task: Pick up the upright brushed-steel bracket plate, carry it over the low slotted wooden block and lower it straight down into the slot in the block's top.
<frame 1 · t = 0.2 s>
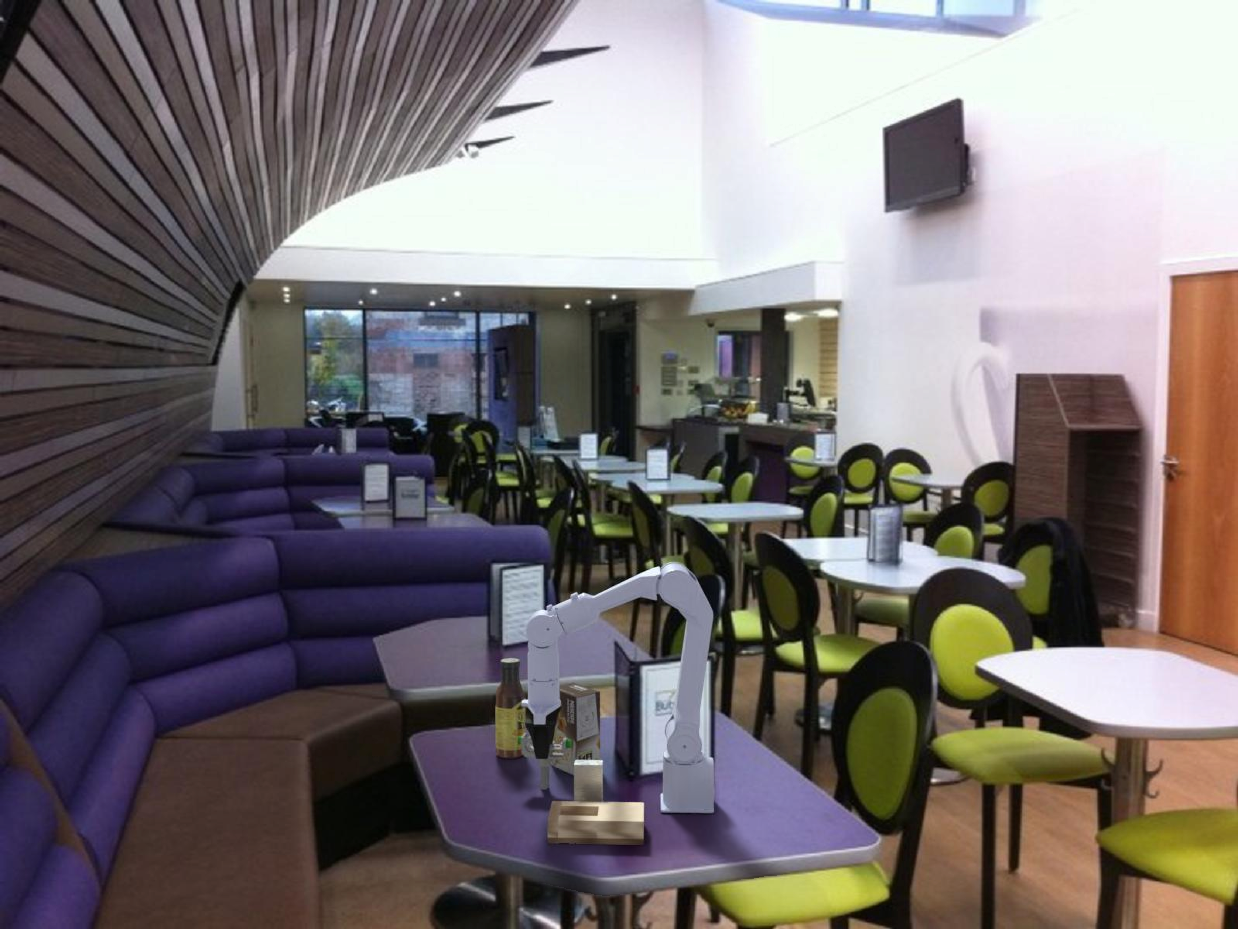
hand: (544, 751, 188), 10 cm above the table, tool pointing down, fingers open, 7 cm apart
coffee box: (575, 768, 207), on the table
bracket: (588, 811, 185), on the table
slotted wooden block: (596, 834, 176), on the table
mechanical component: (544, 789, 196), on the table
sauce bottle: (510, 755, 214), on the table
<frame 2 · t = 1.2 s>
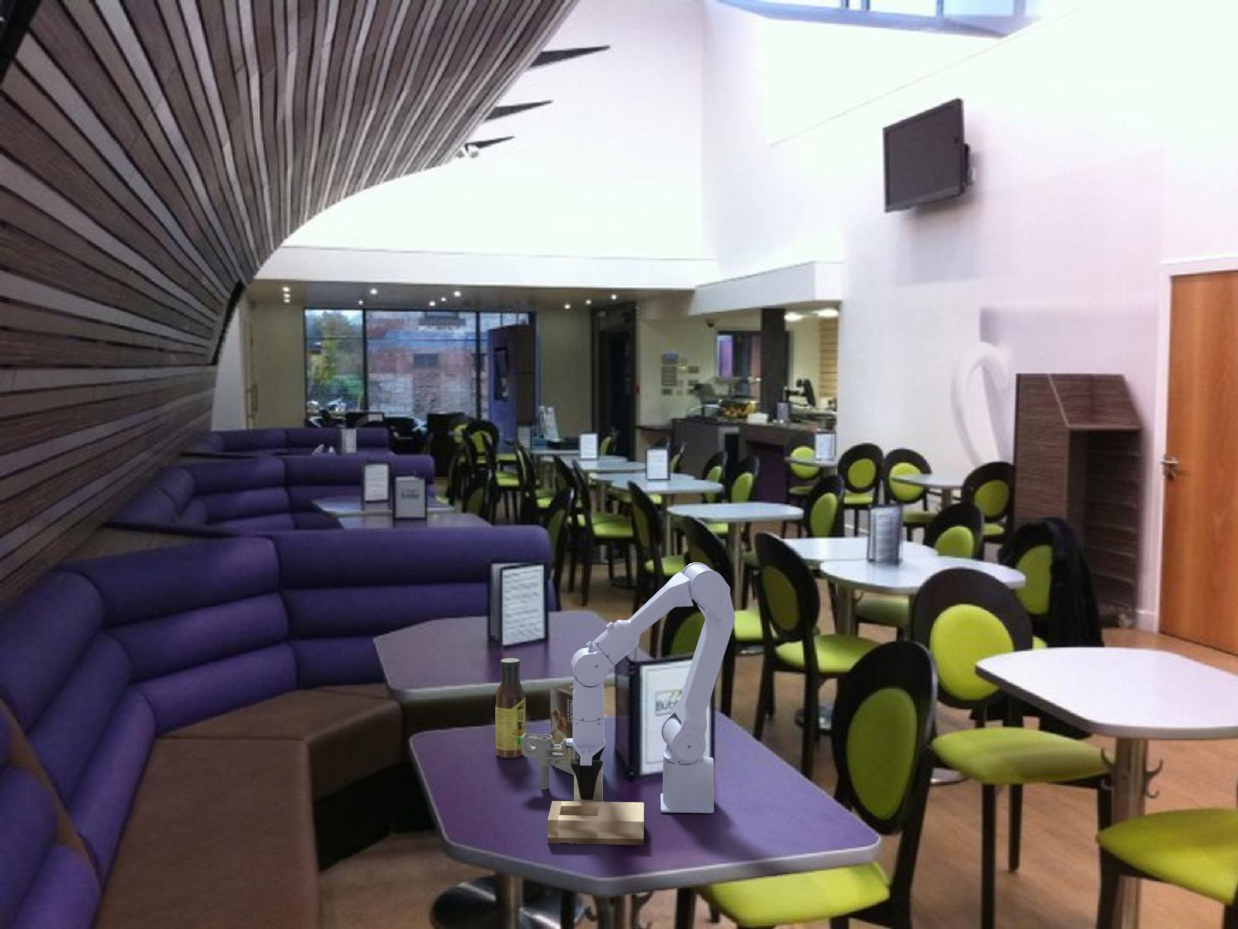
hand: (588, 790, 185), 4 cm above the table, tool pointing down, fingers open, 7 cm apart
nothing on the table moved.
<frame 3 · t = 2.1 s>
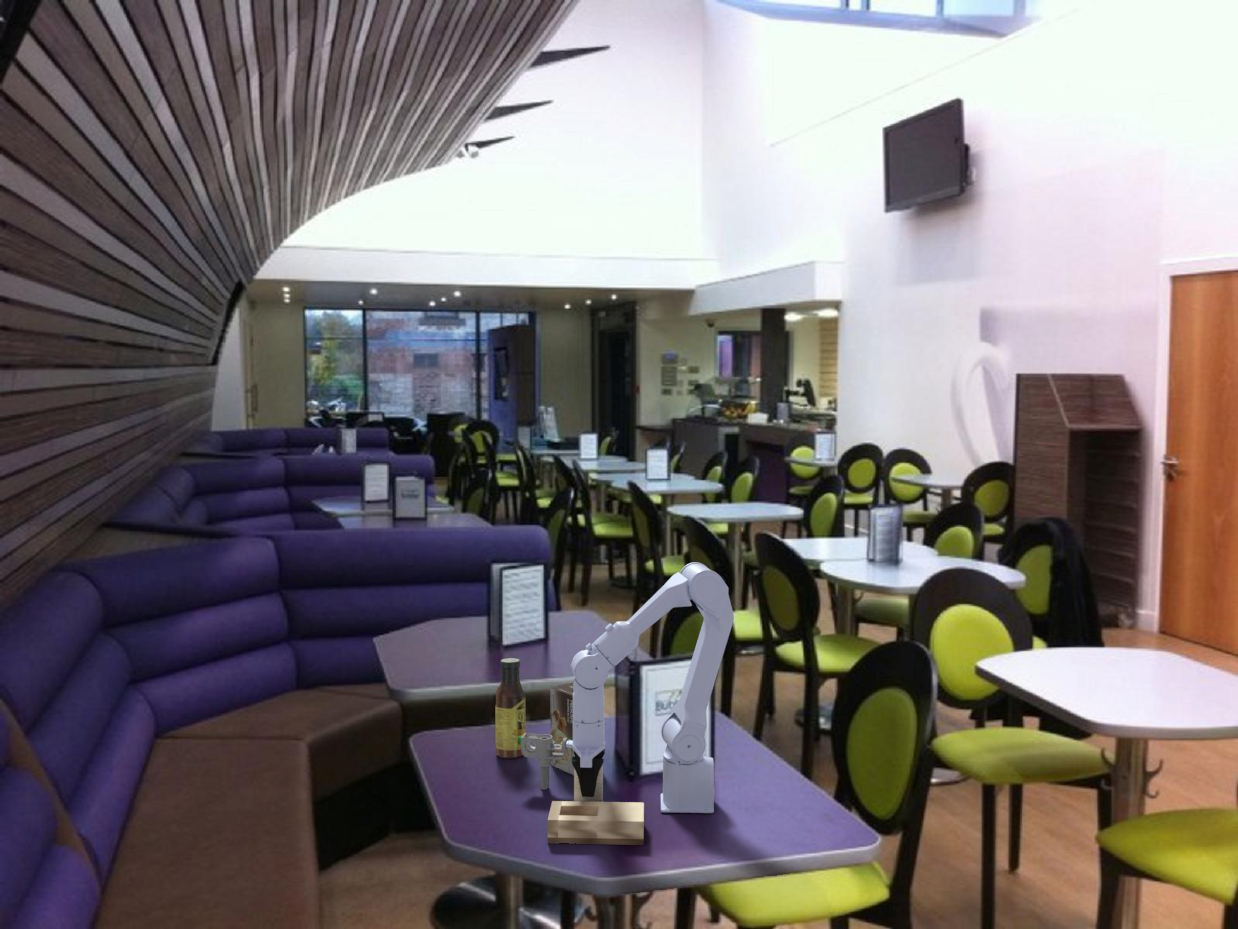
hand: (588, 792, 185), 3 cm above the table, tool pointing down, fingers closed on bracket, 2 cm apart
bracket: (588, 811, 185), on the table, touching gripper
everything else where it was.
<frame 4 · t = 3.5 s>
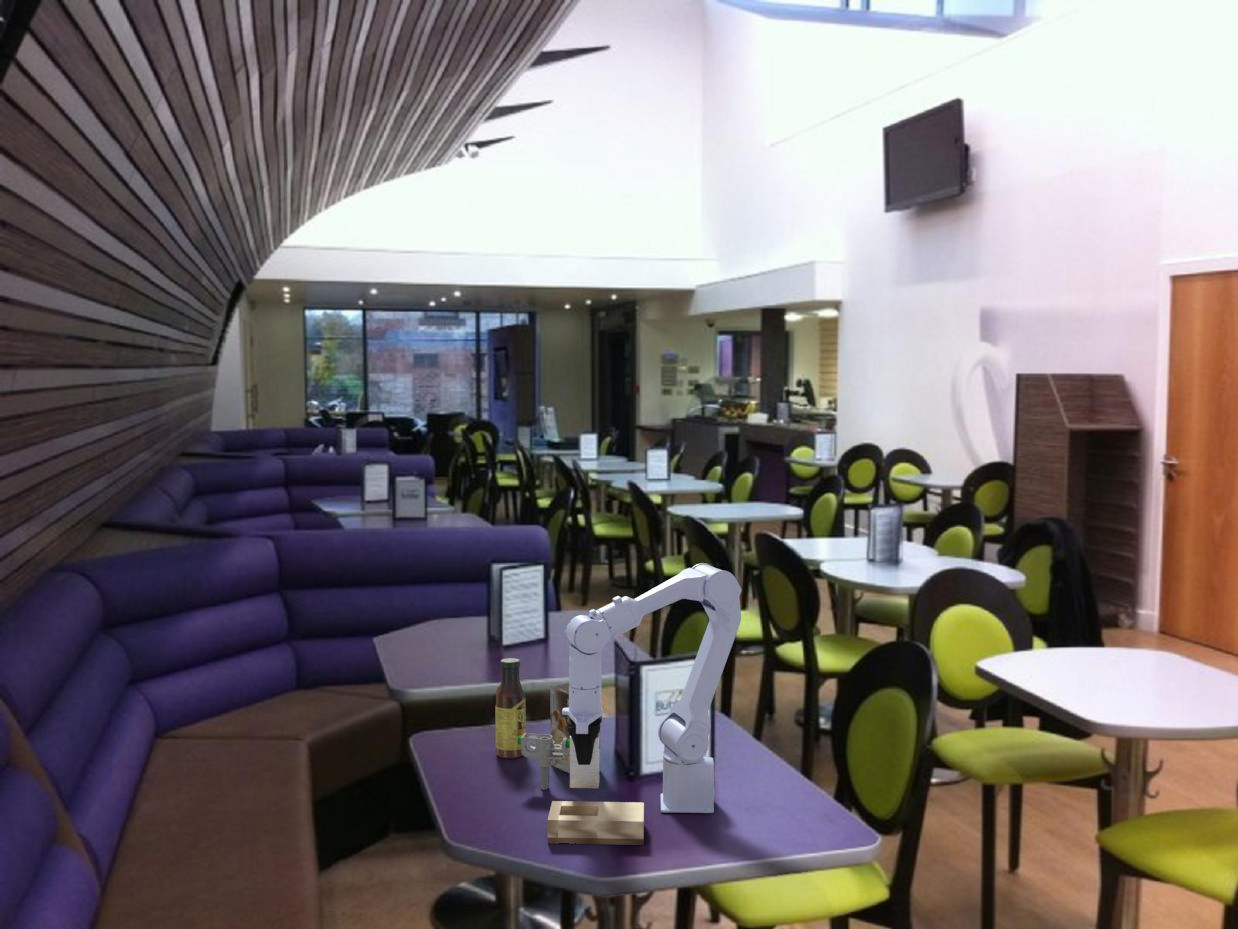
hand: (585, 761, 181), 10 cm above the table, tool pointing down, fingers closed on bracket, 2 cm apart
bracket: (584, 785, 182), point 6 cm above the table, touching gripper
everything else where it was.
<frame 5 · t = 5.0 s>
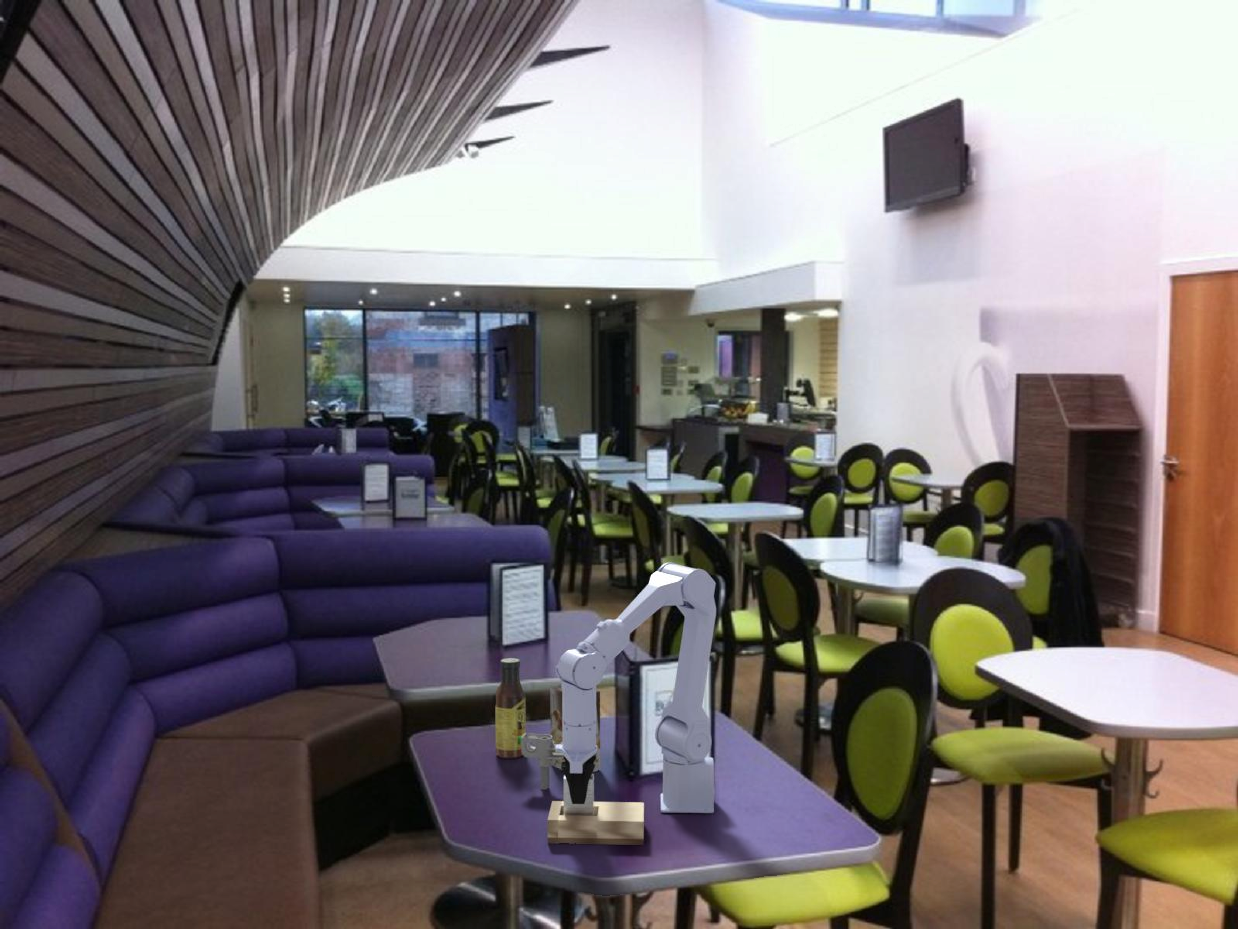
hand: (579, 799, 176), 6 cm above the table, tool pointing down, fingers closed on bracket, 2 cm apart
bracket: (578, 828, 176), point 1 cm above the table, touching gripper, slotted wooden block
everything else where it was.
when the fingers open (6 cm above the table, at t = 5.3 s): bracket stays where it is, resting on slotted wooden block.
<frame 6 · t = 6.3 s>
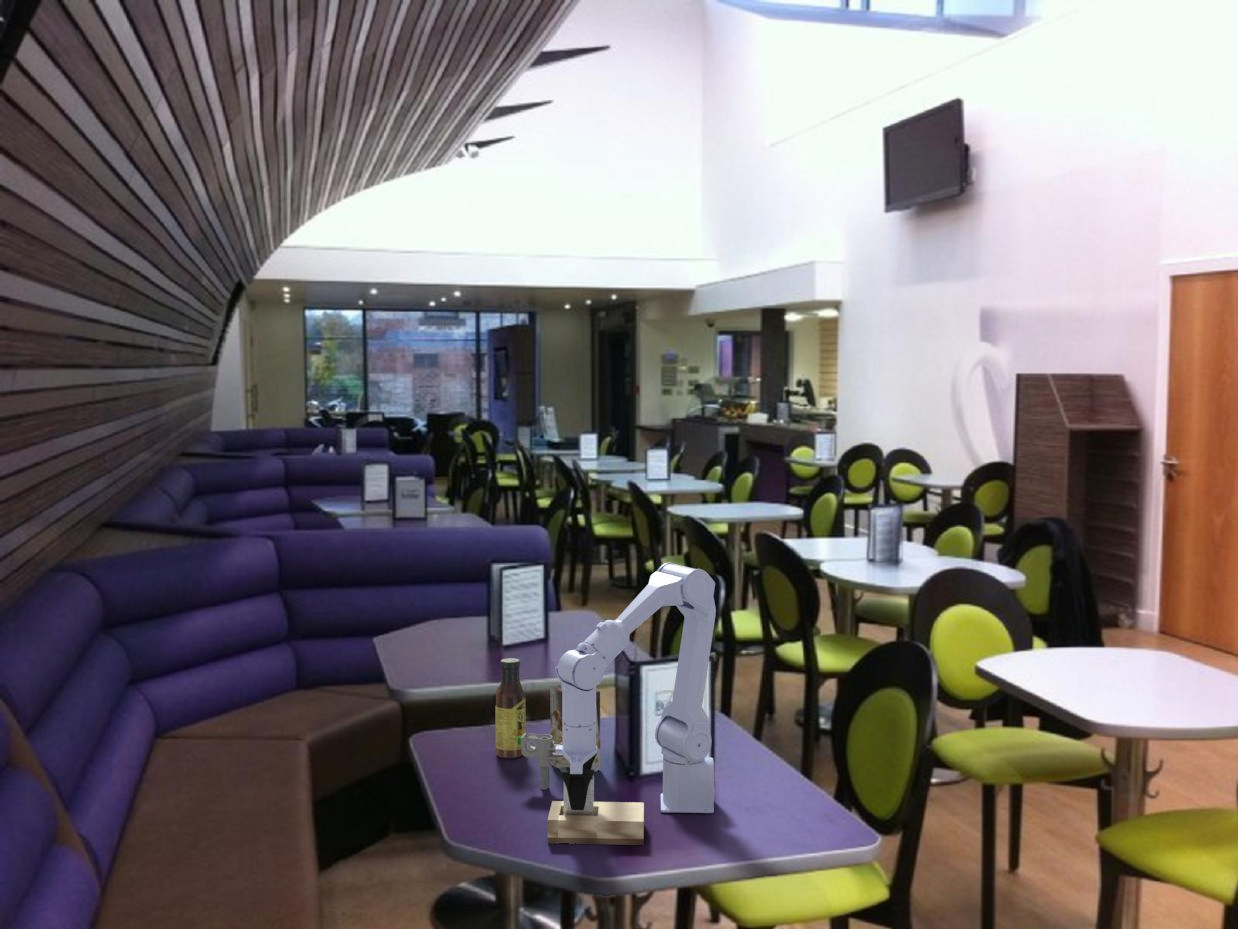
hand: (579, 800, 176), 6 cm above the table, tool pointing down, fingers open, 7 cm apart
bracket: (578, 828, 176), point 1 cm above the table, touching slotted wooden block
everything else where it was.
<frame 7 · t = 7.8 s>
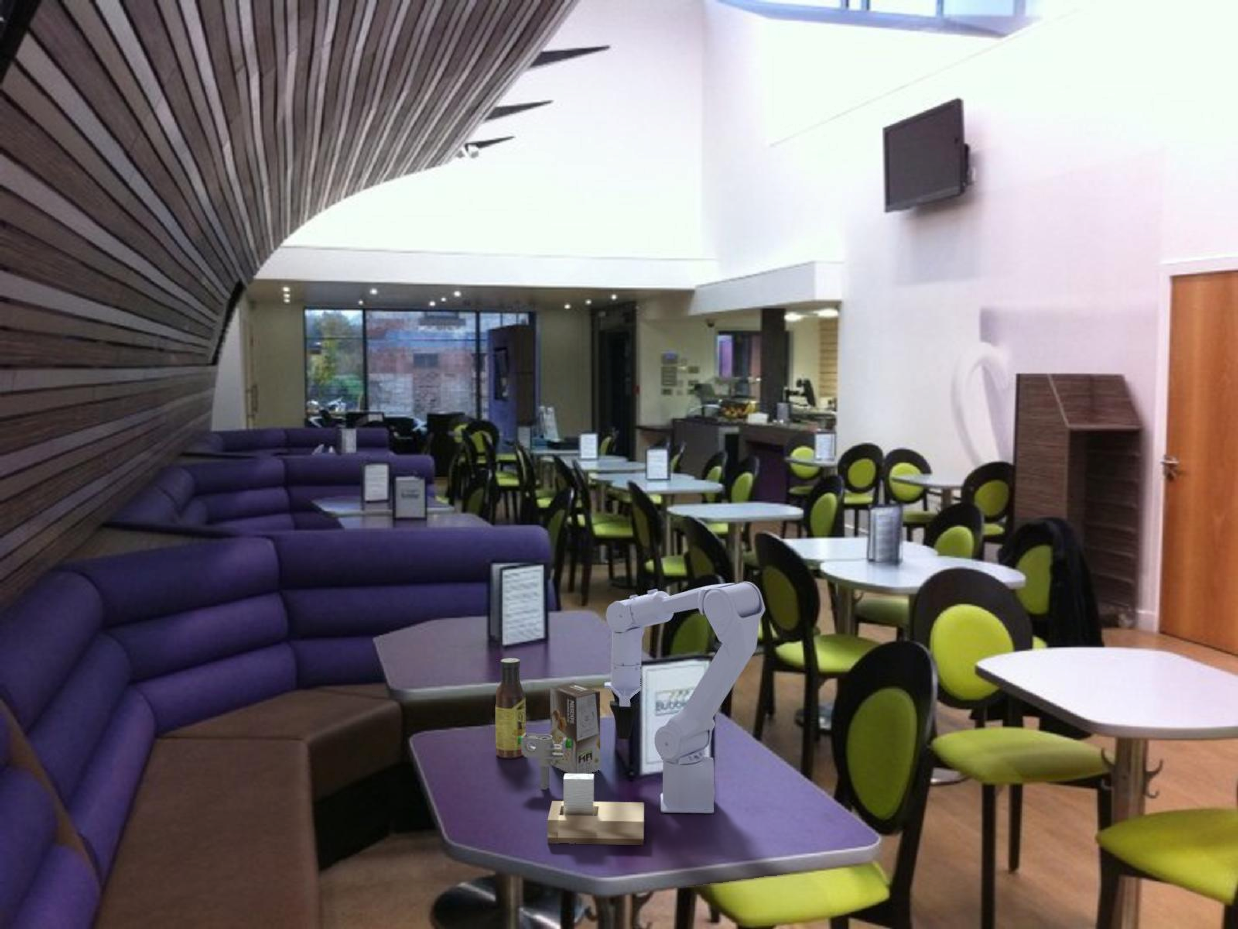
hand: (624, 731, 197), 10 cm above the table, tool pointing down, fingers open, 7 cm apart
nothing on the table moved.
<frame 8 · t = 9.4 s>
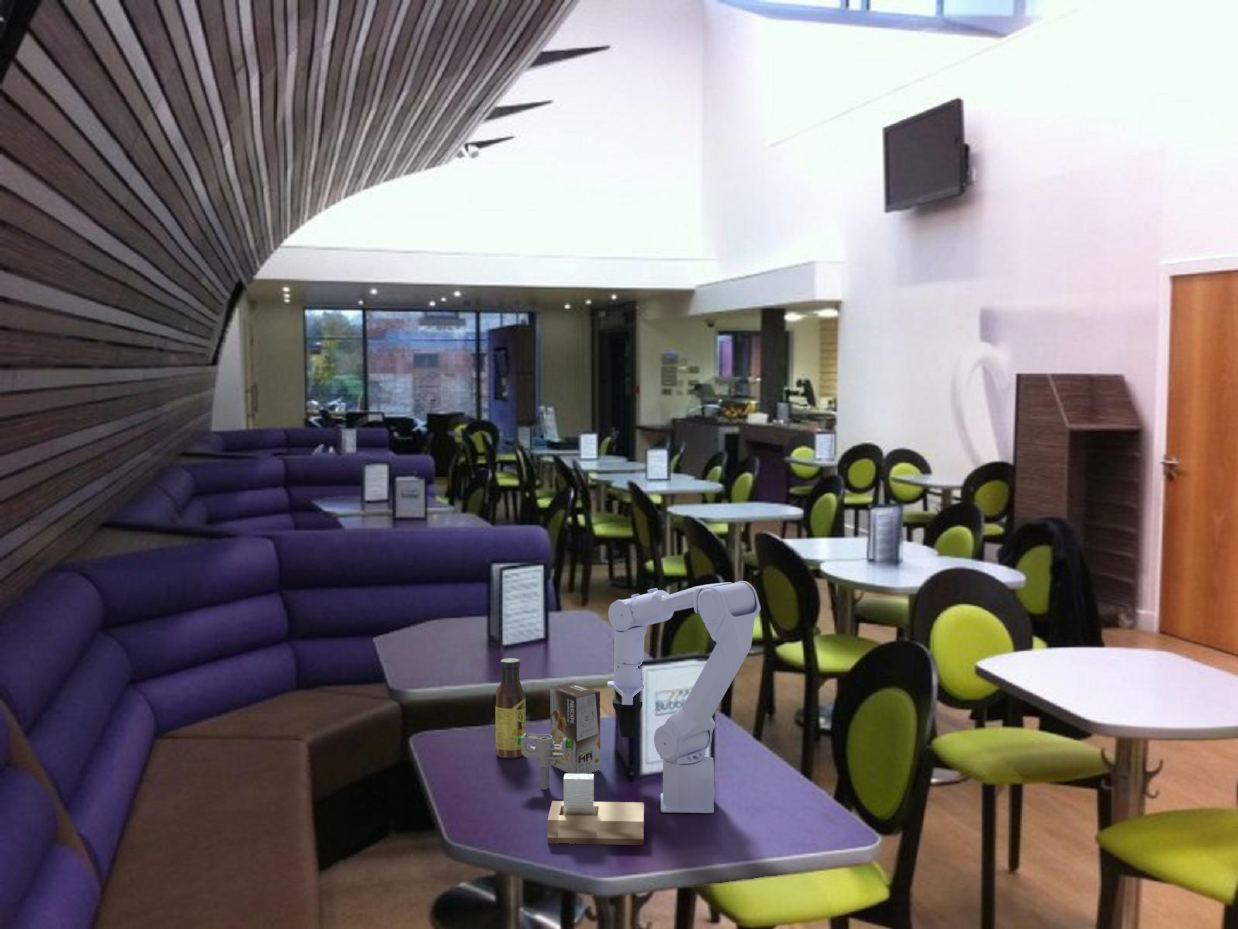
hand: (627, 730, 198), 10 cm above the table, tool pointing down, fingers open, 7 cm apart
nothing on the table moved.
at the end: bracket 0.1 cm from the target spot on the slotted wooden block, point 1.0 cm above the slotted wooden block's base; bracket tilted 0°; the gripper is holding nothing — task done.
